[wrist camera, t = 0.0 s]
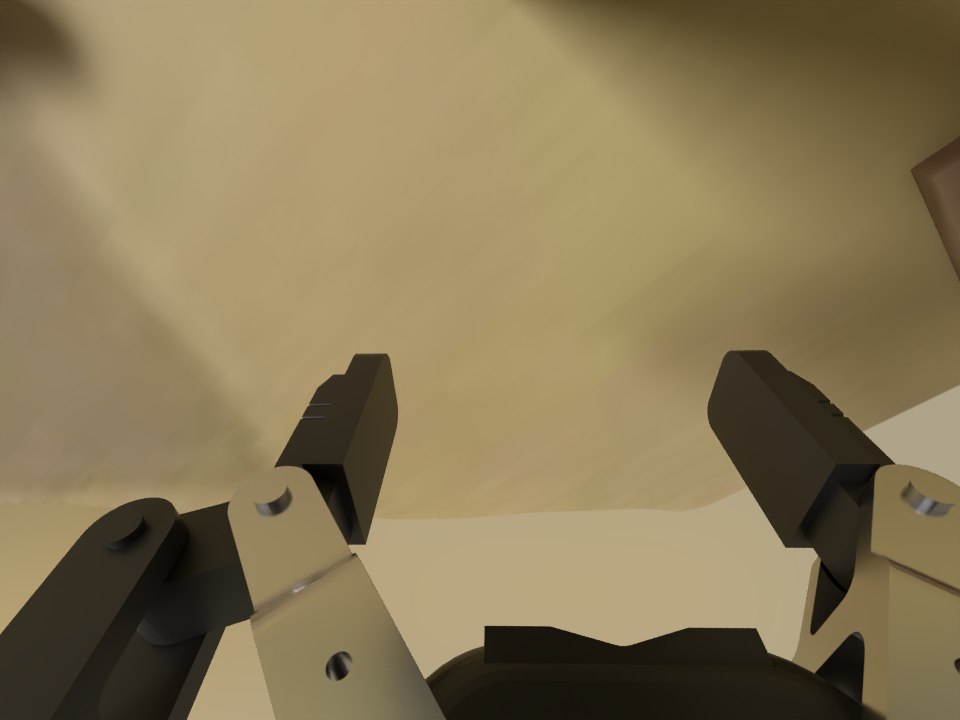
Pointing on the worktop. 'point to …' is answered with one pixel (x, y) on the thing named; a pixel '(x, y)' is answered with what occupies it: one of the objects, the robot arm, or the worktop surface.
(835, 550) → the robot arm
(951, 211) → the stand
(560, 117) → the worktop surface
